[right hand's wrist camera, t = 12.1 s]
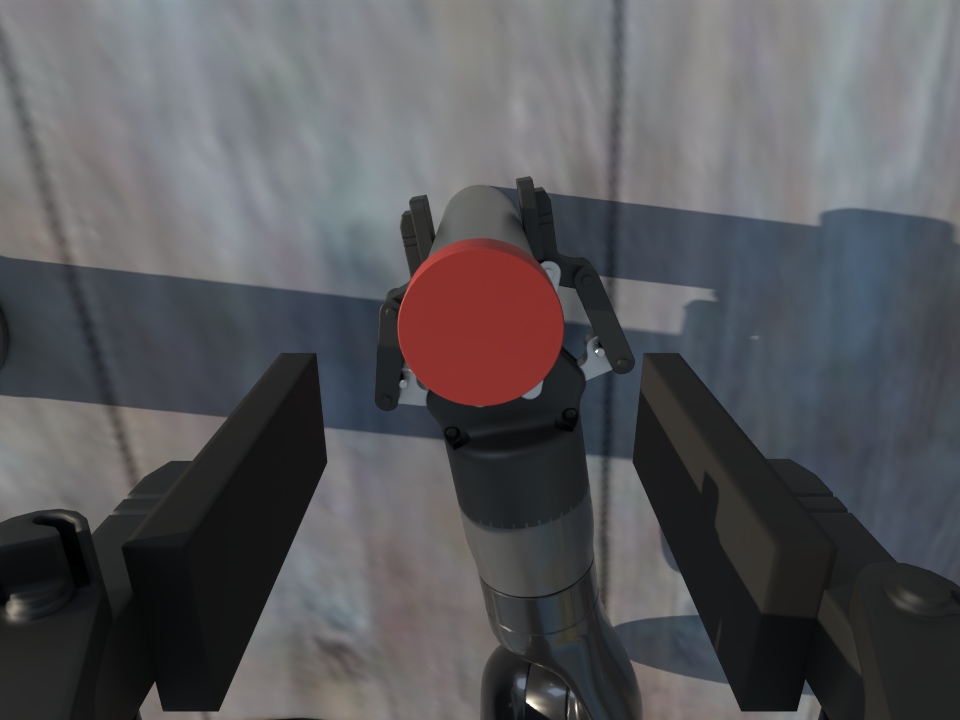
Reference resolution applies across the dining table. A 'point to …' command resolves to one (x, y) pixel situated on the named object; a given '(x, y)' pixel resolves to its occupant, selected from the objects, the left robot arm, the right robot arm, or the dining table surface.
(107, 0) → the dining table surface
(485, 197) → the gray cylinder
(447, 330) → the lid
